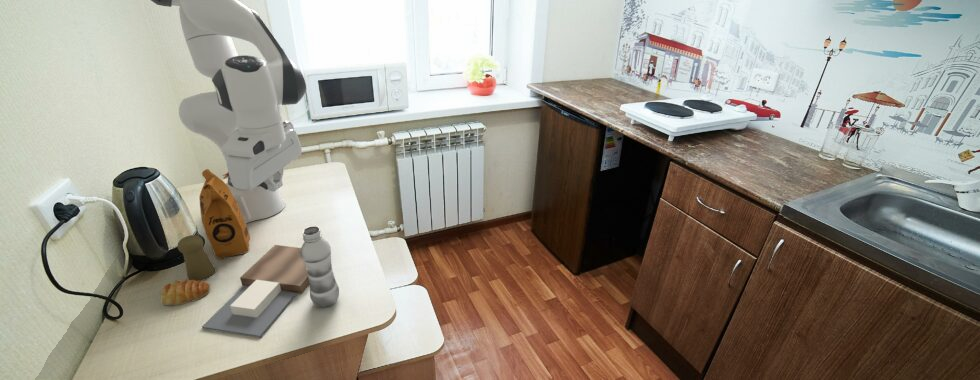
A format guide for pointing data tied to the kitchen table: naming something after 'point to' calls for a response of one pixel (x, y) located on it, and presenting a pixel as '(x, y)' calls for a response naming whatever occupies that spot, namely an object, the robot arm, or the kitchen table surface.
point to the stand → (280, 269)
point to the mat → (246, 324)
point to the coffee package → (222, 218)
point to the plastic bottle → (319, 267)
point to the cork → (196, 258)
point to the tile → (255, 298)
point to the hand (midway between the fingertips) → (275, 188)
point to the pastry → (184, 291)
